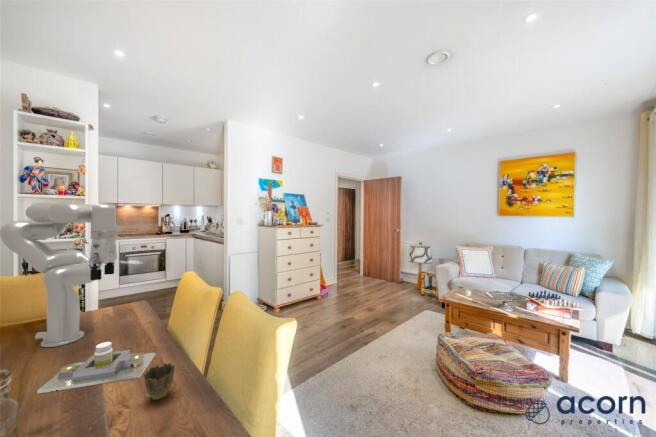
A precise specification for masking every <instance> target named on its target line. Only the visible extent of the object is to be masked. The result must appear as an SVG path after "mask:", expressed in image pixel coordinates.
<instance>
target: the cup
mask: <svg viewBox="0 0 656 437" xmlns="http://www.w3.org/2000/svg"><path fill="white" fill-rule="evenodd" d="M145 372H146V373H143V375H144V376H143V377H144V384H145V390H146V393H147V394H148V395H149V396H150V397H151V399H152V400H153V401H159V400H162V399H164V398H165V397H166V396H167V394H168V391H169V390H170V388H171V386H172V385H173V380H174V374H175V365H174V364H172V363H171V362H170V363H166V362H165V363H164V364H163V365H161V366H159V365H158V364H156V366H155V367H154V366H151V367H150V369H149V370H145Z"/></svg>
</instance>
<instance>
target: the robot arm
mask: <svg viewBox="0 0 656 437" xmlns="http://www.w3.org/2000/svg"><path fill="white" fill-rule="evenodd" d="M116 213H117V210H116V207H115V206H113V205H111V204H109V205H108V204H89V203H88V204H87V203H86V204H85V203H65V202H38V203H37V202H36V203H34V204H30V205H29V206H28V207H27V208H26V210H25V216H26V217H27V218H28V219H29V220H27V219H26V220H16V221H10V222H7V223H5V224H3V225H2V226H1V227H0V239H1V241H2V243H3V244H4V245H5V247H6V248H7V249H8V250H10V251H12V252H13V253H15V254H16V255H18V256H19V257H21V258H22V259H23V260H24V261H25V262H26V263H28V265H29V266H31V267H32V268H33V269H34V270H35V271H36V272H38V273H40V274H44V275H43V280H42V281H43V284H44V288H45V293H46V331H40V332H39V331H38V332H36V334H35V336H34V339H35V340H38V339H39V340H40V339H42V340H41V342H40V346H41V347H43V348H54V347H60V346H61V347H62V346H65V345H68V344H71V343H74V342H76V341H79V340H80V339H82V338H83V337H84V336H85V331H83V330H80V312H81V311H80V309H81V308H80V307H81V306H80V302H81V301H80V294H79V293H78V292H77V291H76V290H75V289H74V287H77V286H81V285H86V284H90V283H92V282H95V281H100V280H102V269H101V268H102V266H103V265H104V267H103V268H104V270H103V271H104V275H114V274H115V265H116V262H115V261H117V259H118V256H117V254H118V253H117V242H116V227H117V226H116V224H117V223H116V220H117V219H116V216H117V214H116ZM73 223H74V224H77V223H78V224H79V223H88V224H89V223H90V240H91V242H90V243H91V244H90V253H89V257H88V256H87V254H85V253H83V251H80V250H78V249H72V248H71V249H59V250H57V249H52V248H51V247H50V246H49V245H48V244H46V243H44V242H42V241H40V240H41V239H43V240H45V239H53V238H56V237H58V236H59V235H61V234H62V232H63V231H65V229H66V228H67V227H68V225H70V224H73Z"/></svg>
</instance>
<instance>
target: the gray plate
mask: <svg viewBox="0 0 656 437" xmlns="http://www.w3.org/2000/svg"><path fill="white" fill-rule="evenodd" d="M94 354H95V353H94ZM94 354H92V355H91V356H90V357H89V358H88V359H87V360H85V361H82V362H81V361H80V362H73V363H68V364H65V365H63V366H62V367H60V371H59V372H58V373H57V374H55V375H54V376H53V377H52V378H50V380H48V381H46V383H45V384H43V385H42V386H41V387H40V388H38V389H37V393H36V394H37V395H38V394H46V393H50V392H51V391H52V392H57V391H56V390H58V391H64V390H69V389H70V390H71V389H77V388H83V387H89V386H96V385H101V384H107V383H114V382H121V381H126V380H128V381H129V380H132V379H133V380H134V379H140V378H142V376H143V375H144V374H145V372H146V371H147V370H146V369H147V368H148V367H149V366H150V364H151V363H152V361H153V359H154V358H155V356H156V352H148V353H145V352H144V351H143V352H136V353H131V349H126V350H125V349H124V350H117V351H113V363H112V364H110V365H103V366H96V367H94Z"/></svg>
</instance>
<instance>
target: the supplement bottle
mask: <svg viewBox="0 0 656 437" xmlns="http://www.w3.org/2000/svg"><path fill="white" fill-rule="evenodd" d="M112 344H113V342H111V341H105V342H100V343H99V344H97V345H96V346H95V351H94V367H96V366H103V365H110V364H112V363H113V352H114V349H113V347H112Z"/></svg>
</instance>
